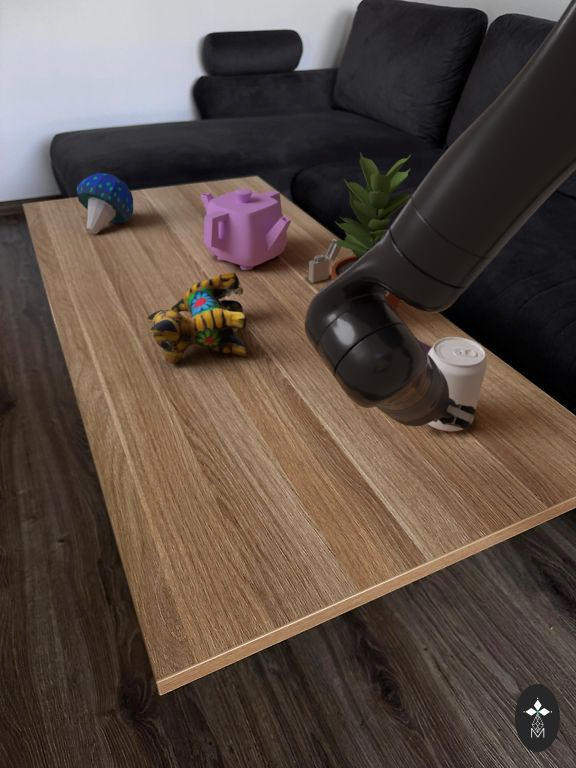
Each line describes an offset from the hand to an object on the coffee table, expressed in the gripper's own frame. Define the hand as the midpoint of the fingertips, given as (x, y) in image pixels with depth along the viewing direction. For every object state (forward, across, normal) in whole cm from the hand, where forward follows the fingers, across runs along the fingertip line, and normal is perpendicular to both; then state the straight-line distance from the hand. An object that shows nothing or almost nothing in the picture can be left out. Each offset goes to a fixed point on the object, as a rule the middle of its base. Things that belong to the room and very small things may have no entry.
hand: (434, 413), depth 78 cm
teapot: (+32, +60, -21) cm, 71 cm away
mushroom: (+28, +99, -18) cm, 104 cm away
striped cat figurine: (+9, +45, +2) cm, 46 cm away
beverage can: (+12, +1, -1) cm, 12 cm away
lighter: (+33, +40, -22) cm, 56 cm away
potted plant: (+27, +26, -16) cm, 40 cm away
